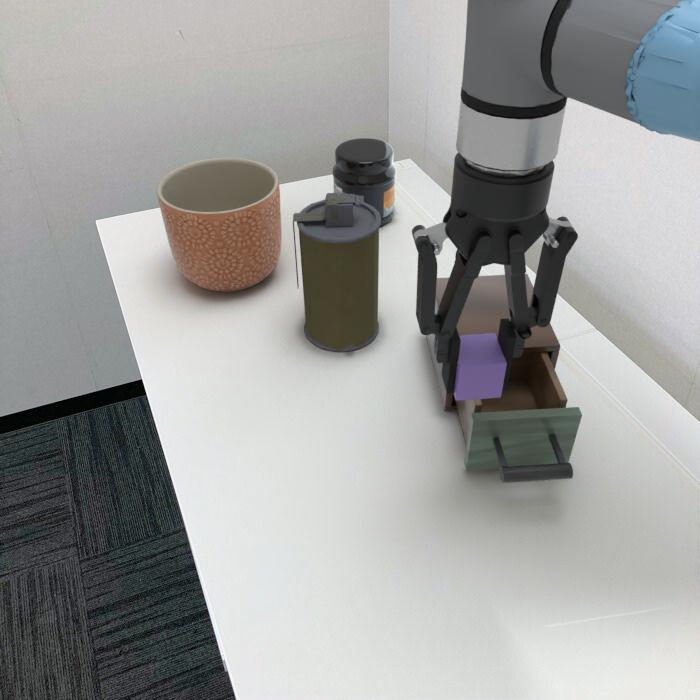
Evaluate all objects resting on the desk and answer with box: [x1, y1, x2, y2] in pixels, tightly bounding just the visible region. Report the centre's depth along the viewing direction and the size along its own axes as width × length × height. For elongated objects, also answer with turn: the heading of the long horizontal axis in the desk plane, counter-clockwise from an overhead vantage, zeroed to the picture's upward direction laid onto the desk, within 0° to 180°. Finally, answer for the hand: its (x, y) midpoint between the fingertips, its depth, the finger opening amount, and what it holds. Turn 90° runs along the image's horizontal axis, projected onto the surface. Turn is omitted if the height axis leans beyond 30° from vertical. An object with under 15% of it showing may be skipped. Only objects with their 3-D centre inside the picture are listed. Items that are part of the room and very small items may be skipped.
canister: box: [292, 192, 381, 352], centre depth 92 cm, size 11×10×20 cm
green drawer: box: [453, 351, 583, 484], centre depth 78 cm, size 19×11×8 cm, turn 4°
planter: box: [156, 156, 283, 293], centre depth 104 cm, size 17×17×15 cm
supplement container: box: [332, 137, 397, 226], centre depth 118 cm, size 10×10×12 cm
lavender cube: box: [454, 333, 507, 401], centre depth 67 cm, size 4×4×4 cm
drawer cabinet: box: [425, 273, 561, 412], centre depth 88 cm, size 15×13×10 cm
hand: (473, 381), depth 68 cm, fingers closed on lavender cube, 4 cm apart
